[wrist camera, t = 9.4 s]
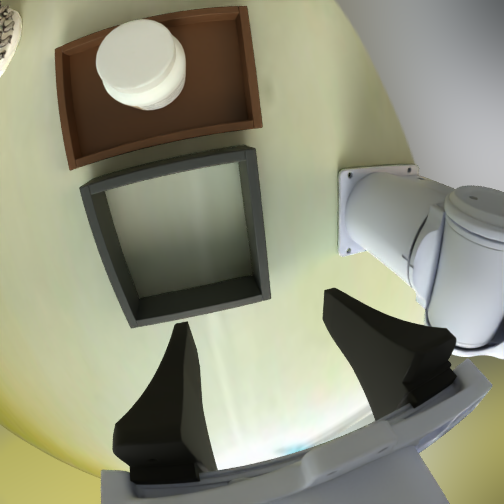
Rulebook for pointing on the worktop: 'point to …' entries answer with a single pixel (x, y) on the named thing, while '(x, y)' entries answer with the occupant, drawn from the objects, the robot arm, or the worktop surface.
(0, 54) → the decorative candle
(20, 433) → the worktop surface
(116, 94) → the pill bottle
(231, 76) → the tray
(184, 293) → the dark grey square frame
